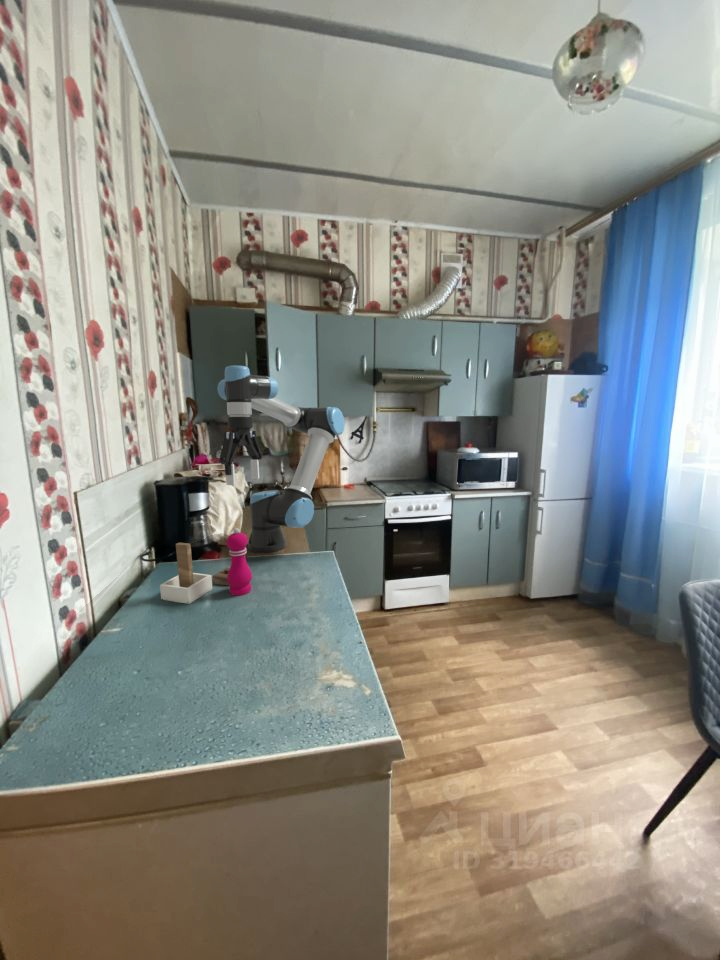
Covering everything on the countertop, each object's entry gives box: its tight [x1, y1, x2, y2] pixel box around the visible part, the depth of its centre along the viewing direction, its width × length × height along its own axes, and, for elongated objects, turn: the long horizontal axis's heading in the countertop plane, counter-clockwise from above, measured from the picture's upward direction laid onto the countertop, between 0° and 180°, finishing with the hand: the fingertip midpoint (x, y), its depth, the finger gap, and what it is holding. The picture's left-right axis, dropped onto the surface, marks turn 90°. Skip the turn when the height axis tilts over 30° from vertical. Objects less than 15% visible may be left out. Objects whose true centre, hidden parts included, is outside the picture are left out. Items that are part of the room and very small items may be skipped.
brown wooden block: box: [175, 542, 194, 588], centre depth 111 cm, size 2×4×15 cm, turn 73°
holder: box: [212, 567, 231, 587], centre depth 122 cm, size 7×7×2 cm
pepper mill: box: [226, 527, 253, 597], centre depth 113 cm, size 7×7×20 cm
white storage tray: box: [159, 572, 213, 605], centre depth 112 cm, size 10×10×4 cm
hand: (243, 481), depth 123 cm, fingers open, 13 cm apart
